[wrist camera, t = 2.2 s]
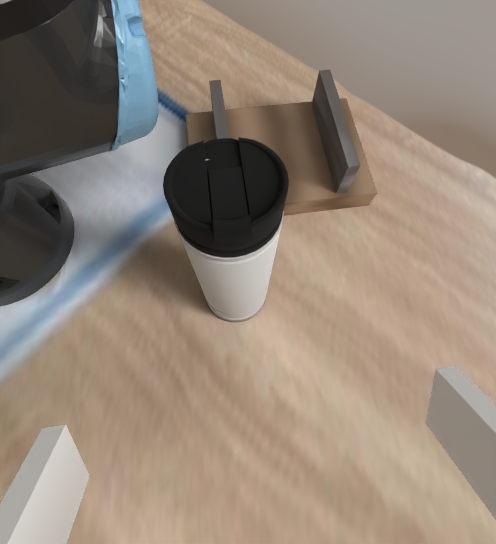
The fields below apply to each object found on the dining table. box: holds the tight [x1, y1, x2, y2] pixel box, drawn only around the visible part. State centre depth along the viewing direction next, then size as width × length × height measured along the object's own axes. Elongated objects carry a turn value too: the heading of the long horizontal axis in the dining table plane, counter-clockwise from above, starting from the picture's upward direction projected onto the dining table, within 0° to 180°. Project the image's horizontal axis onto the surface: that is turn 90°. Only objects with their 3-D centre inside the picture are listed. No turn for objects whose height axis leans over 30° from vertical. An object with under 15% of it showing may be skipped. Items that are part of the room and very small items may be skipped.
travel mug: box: [163, 137, 289, 322], centre depth 25 cm, size 6×7×20 cm
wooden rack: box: [186, 70, 377, 215], centre depth 36 cm, size 20×14×7 cm
